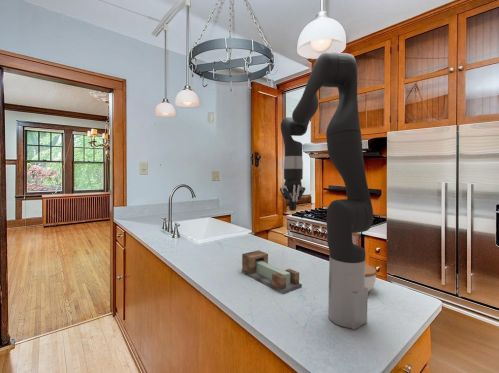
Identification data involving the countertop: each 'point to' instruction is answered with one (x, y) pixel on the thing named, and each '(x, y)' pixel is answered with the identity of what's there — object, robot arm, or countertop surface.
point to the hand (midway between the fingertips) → (292, 210)
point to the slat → (270, 270)
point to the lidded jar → (370, 276)
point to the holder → (277, 279)
